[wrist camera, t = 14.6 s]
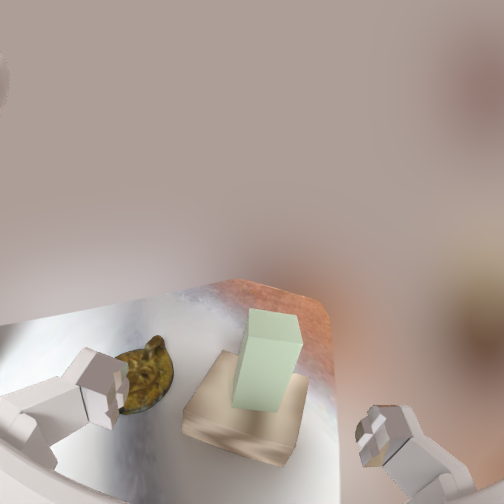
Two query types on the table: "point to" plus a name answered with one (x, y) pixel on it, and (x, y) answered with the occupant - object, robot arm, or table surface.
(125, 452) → the table surface
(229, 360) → the plinth
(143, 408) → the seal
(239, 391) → the green block
